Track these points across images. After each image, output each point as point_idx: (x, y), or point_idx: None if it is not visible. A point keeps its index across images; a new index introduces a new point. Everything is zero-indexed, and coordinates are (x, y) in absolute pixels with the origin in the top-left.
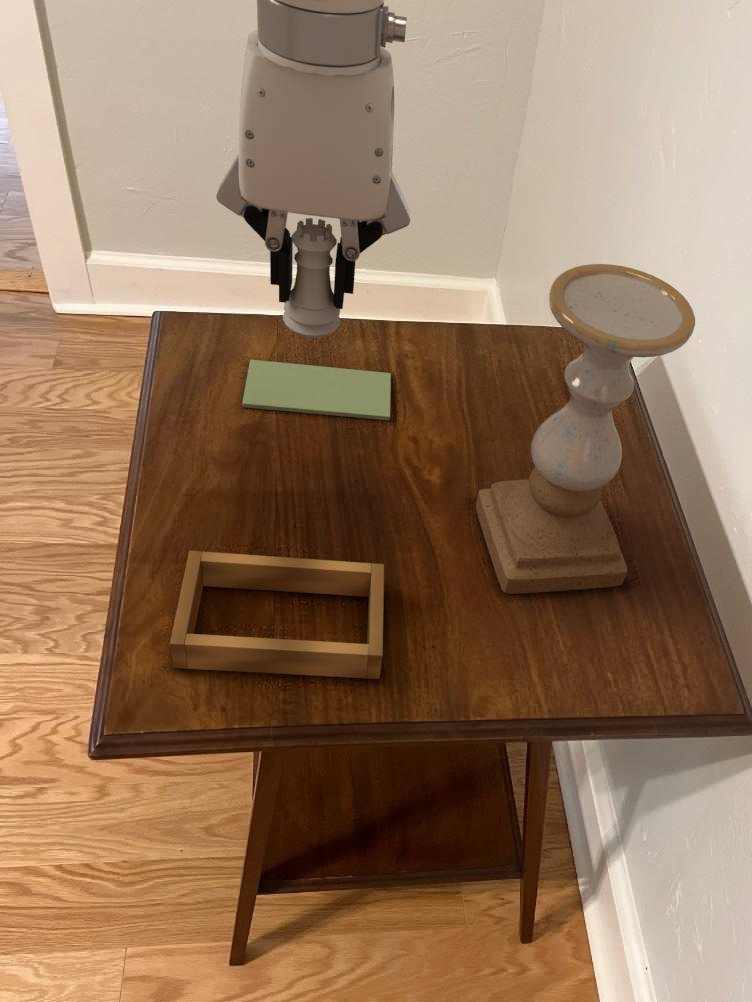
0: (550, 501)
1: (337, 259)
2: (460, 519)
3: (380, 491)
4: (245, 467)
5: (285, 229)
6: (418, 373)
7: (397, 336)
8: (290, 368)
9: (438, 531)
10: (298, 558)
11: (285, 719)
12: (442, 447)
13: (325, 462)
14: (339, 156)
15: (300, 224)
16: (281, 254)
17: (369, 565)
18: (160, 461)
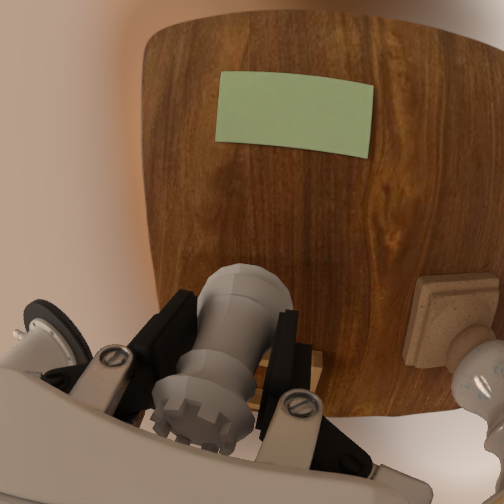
0: (451, 373)
1: (259, 426)
2: (400, 292)
3: (342, 259)
4: (223, 226)
5: (133, 385)
6: (401, 83)
7: (380, 24)
8: (263, 80)
9: (379, 304)
10: (261, 359)
11: (256, 409)
12: (410, 201)
13: (296, 219)
14: None
15: (157, 422)
16: (151, 408)
17: (311, 368)
18: (158, 219)
